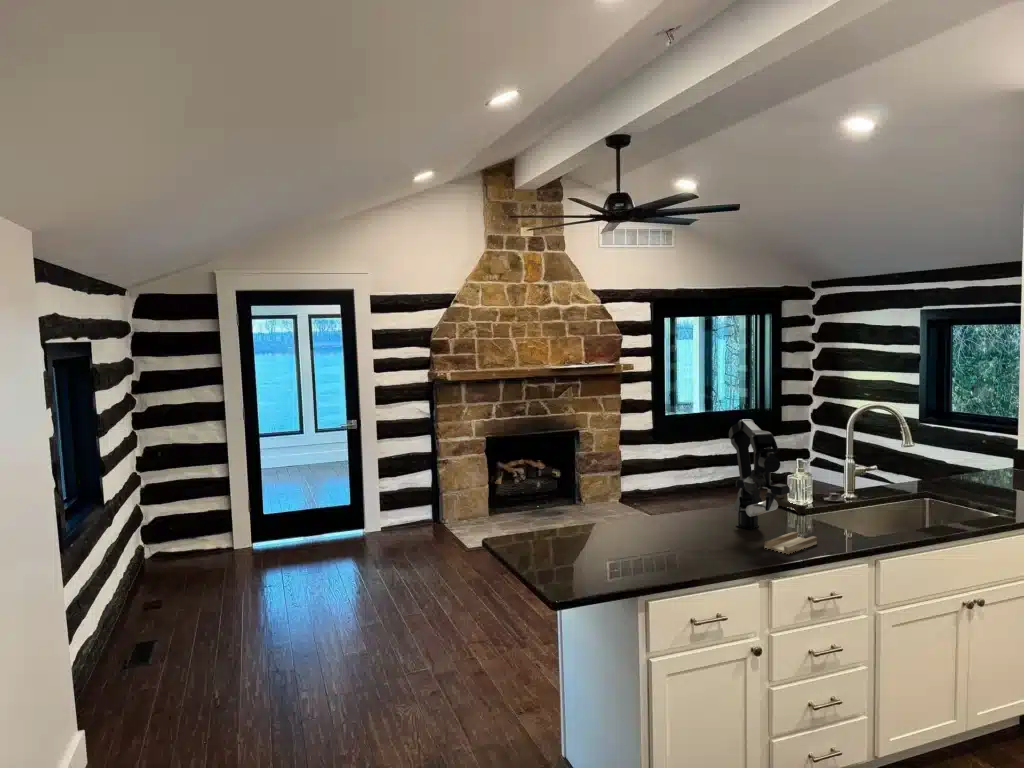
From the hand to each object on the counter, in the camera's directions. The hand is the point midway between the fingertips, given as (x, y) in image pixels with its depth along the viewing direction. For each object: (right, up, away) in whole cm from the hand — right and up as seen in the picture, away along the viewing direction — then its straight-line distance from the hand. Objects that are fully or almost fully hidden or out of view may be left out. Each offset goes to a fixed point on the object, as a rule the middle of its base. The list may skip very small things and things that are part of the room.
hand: (762, 509), depth 264 cm
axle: (0, -1, 0) cm, 1 cm away
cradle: (+7, -11, -8) cm, 16 cm away
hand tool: (+25, -7, +42) cm, 50 cm away
